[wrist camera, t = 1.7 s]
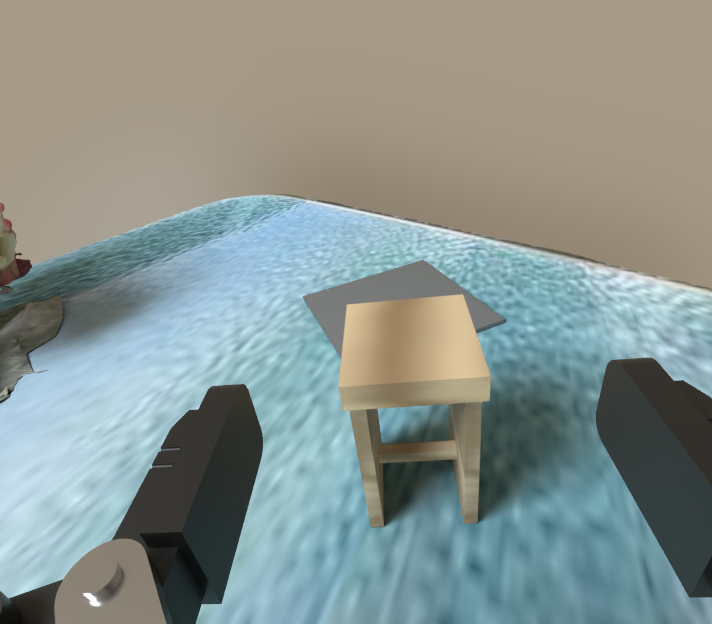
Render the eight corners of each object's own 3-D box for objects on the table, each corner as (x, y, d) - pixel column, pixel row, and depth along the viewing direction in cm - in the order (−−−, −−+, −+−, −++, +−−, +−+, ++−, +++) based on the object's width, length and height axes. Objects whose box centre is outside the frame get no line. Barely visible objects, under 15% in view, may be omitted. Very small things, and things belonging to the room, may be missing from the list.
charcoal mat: (423, 262, 56) (423, 260, 56) (504, 322, 43) (504, 319, 43) (303, 299, 52) (303, 296, 52) (353, 377, 39) (352, 374, 39)
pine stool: (462, 436, 32) (463, 294, 25) (483, 532, 26) (490, 376, 19) (368, 442, 32) (346, 304, 26) (367, 536, 26) (338, 387, 20)
